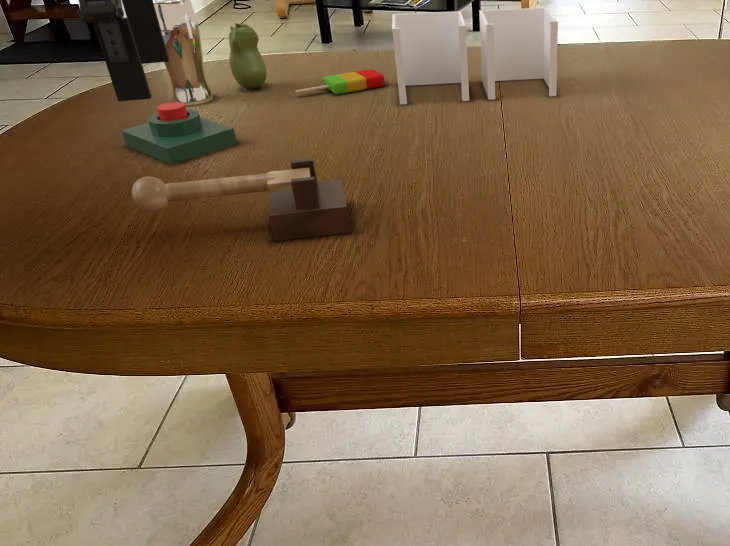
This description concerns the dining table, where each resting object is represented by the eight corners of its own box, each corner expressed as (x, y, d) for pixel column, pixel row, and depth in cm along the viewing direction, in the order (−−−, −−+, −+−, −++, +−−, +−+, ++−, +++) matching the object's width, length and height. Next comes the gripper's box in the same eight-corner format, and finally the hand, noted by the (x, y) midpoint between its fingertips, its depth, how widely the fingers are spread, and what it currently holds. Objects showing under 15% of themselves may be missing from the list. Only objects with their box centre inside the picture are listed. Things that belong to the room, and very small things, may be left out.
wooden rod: (135, 219, 76) (123, 186, 74) (140, 205, 79) (129, 173, 77) (313, 200, 79) (307, 167, 77) (313, 187, 82) (307, 155, 80)
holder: (274, 241, 79) (262, 187, 75) (275, 211, 85) (264, 160, 81) (350, 232, 80) (342, 179, 76) (346, 203, 86) (338, 152, 83)
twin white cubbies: (545, 77, 128) (546, 7, 121) (556, 96, 119) (557, 21, 112) (399, 85, 125) (392, 14, 119) (399, 104, 117) (392, 28, 110)
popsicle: (387, 86, 125) (386, 74, 124) (301, 101, 119) (299, 89, 118) (374, 79, 129) (373, 67, 128) (290, 93, 123) (288, 81, 122)
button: (155, 119, 101) (151, 106, 100) (179, 113, 103) (175, 100, 102) (169, 124, 99) (165, 111, 98) (193, 117, 101) (189, 104, 100)
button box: (126, 146, 104) (116, 117, 101) (190, 127, 110) (182, 99, 107) (172, 164, 97) (163, 134, 95) (237, 143, 103) (230, 114, 101)
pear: (259, 81, 129) (246, 18, 123) (275, 87, 126) (263, 23, 120) (230, 88, 126) (215, 24, 120) (246, 94, 123) (231, 29, 117)
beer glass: (194, 92, 124) (167, -8, 115) (225, 96, 122) (200, -5, 113) (162, 103, 119) (131, 0, 110) (194, 108, 117) (165, 3, 108)
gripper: (79, -208, 50) (172, 113, 62) (136, -197, 69) (197, 46, 82) (-44, -206, 48) (76, 122, 61) (49, -196, 68) (125, 52, 81)
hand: (146, 79), depth 72 cm, fingers open, 13 cm apart
